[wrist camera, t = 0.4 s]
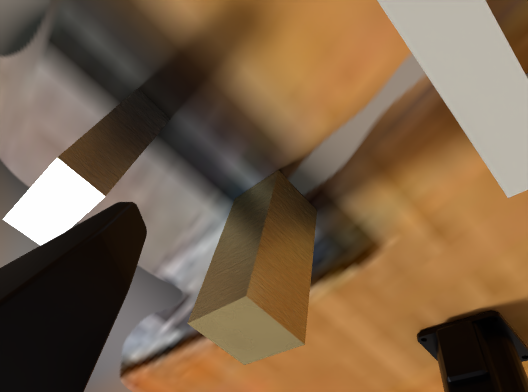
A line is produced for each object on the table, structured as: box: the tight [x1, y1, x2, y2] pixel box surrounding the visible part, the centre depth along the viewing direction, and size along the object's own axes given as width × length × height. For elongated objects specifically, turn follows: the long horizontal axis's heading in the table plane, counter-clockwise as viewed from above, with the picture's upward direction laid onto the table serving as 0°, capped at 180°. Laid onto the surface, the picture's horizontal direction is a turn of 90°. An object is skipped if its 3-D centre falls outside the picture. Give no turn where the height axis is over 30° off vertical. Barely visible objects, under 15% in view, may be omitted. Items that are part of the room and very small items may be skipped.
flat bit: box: [3, 88, 170, 245], centre depth 21 cm, size 2×6×8 cm, turn 133°
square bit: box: [188, 170, 317, 365], centre depth 22 cm, size 4×4×10 cm
